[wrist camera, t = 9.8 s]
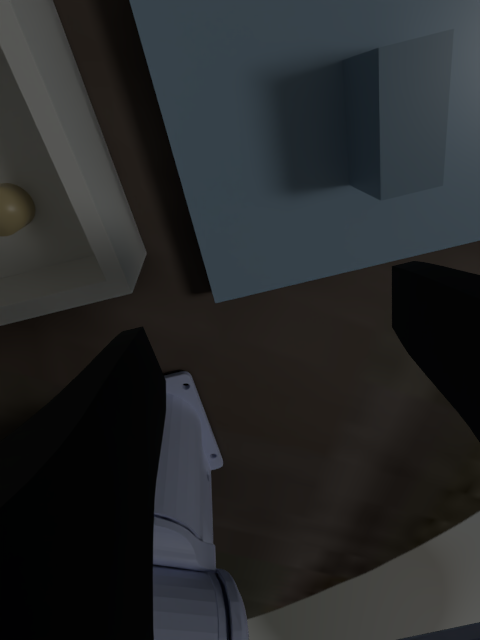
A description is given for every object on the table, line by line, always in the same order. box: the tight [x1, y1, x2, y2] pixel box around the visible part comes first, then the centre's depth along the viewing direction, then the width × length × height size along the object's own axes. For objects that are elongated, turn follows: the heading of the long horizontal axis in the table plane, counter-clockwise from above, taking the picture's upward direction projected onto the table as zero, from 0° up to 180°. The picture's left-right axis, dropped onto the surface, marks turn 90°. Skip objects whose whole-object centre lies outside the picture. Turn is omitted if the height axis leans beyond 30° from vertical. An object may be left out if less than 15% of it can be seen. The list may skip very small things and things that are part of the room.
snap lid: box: [129, 0, 480, 303], centre depth 16 cm, size 14×18×6 cm
